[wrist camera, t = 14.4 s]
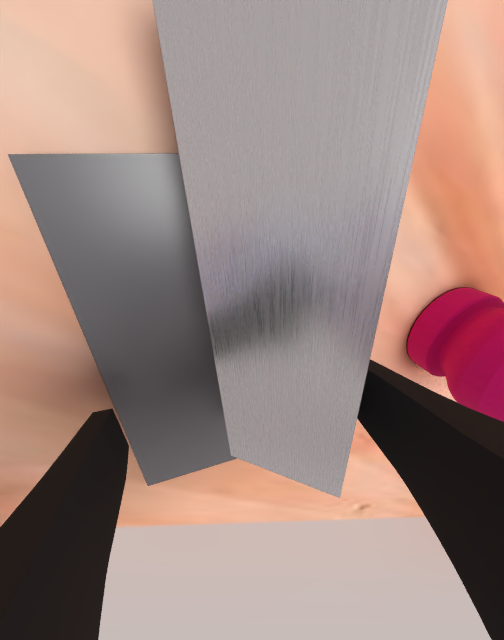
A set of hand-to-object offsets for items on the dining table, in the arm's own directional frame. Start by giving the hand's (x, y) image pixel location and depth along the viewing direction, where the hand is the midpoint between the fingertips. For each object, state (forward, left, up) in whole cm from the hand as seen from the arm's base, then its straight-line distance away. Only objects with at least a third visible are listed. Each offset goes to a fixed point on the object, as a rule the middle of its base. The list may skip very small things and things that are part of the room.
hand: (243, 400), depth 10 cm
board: (-1, 0, -4) cm, 4 cm away
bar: (0, +4, -2) cm, 4 cm away
